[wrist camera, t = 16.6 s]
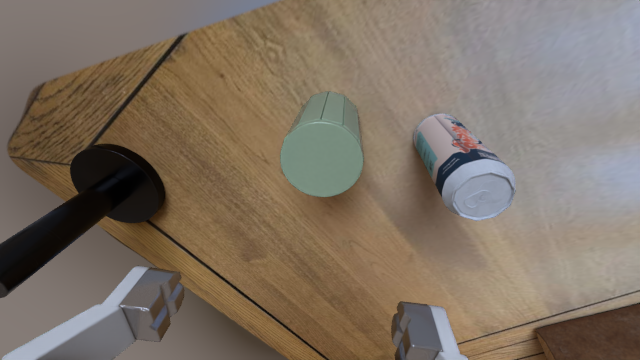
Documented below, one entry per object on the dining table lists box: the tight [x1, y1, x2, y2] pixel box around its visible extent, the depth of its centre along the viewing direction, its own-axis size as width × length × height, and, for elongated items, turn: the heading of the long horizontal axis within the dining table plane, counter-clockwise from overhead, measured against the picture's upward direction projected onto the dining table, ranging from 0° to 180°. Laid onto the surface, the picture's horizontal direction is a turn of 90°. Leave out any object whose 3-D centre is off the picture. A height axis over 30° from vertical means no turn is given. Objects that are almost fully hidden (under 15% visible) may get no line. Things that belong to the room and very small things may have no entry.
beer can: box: [413, 114, 516, 221], centre depth 24 cm, size 5×5×12 cm
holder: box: [0, 144, 165, 298], centre depth 29 cm, size 11×11×16 cm
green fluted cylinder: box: [280, 91, 364, 197], centre depth 25 cm, size 6×6×10 cm
